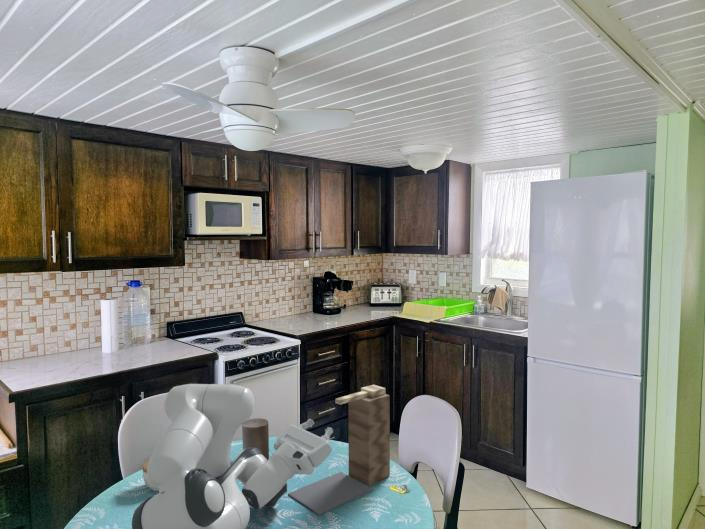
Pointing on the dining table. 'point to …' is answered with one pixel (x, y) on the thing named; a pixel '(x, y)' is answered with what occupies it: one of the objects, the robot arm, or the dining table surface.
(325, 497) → the rubber mat
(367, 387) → the beech spatula
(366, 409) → the walnut stand
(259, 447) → the pillar candle
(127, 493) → the dining table surface
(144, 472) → the lidded jar
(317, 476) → the dining table surface
